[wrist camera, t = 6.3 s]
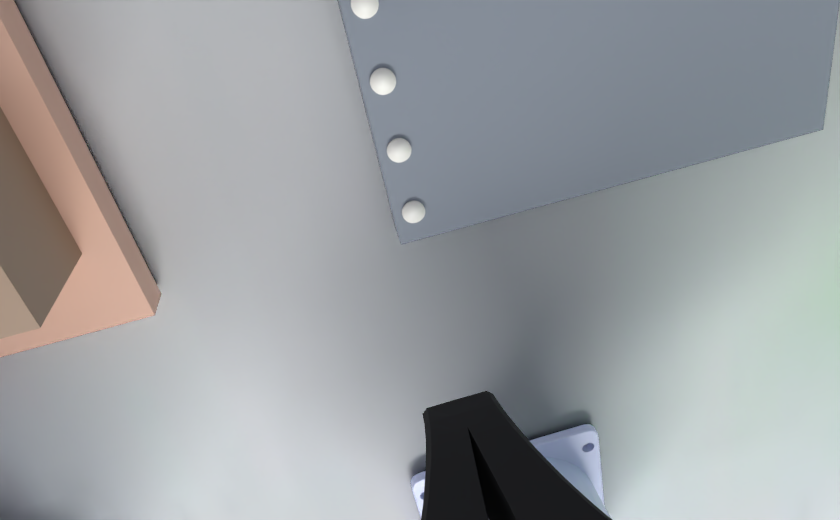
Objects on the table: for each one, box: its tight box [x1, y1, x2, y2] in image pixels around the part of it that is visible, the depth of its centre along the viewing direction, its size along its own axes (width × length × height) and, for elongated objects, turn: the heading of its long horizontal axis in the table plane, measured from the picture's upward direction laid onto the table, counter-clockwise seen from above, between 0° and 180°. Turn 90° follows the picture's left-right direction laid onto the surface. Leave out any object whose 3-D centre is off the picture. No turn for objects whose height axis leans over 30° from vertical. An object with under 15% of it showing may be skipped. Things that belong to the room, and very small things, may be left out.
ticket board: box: [337, 0, 840, 245], centre depth 18 cm, size 10×14×1 cm
